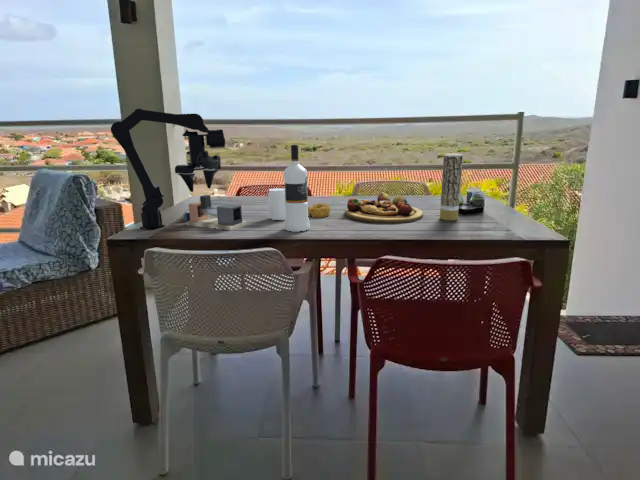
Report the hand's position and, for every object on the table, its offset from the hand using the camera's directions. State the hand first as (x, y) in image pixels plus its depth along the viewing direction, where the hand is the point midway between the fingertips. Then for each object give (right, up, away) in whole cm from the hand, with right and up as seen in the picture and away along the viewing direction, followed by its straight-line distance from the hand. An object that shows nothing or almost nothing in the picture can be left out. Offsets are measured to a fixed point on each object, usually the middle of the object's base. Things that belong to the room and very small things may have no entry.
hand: (200, 190), depth 157 cm
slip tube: (+4, -10, -1) cm, 11 cm away
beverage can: (+30, -11, +8) cm, 32 cm away
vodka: (+38, -16, -9) cm, 42 cm away
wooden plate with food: (+72, -9, +12) cm, 74 cm away
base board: (+6, -13, -1) cm, 15 cm away
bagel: (+45, -9, +13) cm, 48 cm away
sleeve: (+12, -13, -4) cm, 18 cm away
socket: (-1, -11, +3) cm, 12 cm away
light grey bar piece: (-6, -9, +18) cm, 21 cm away
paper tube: (+96, -11, +2) cm, 97 cm away
